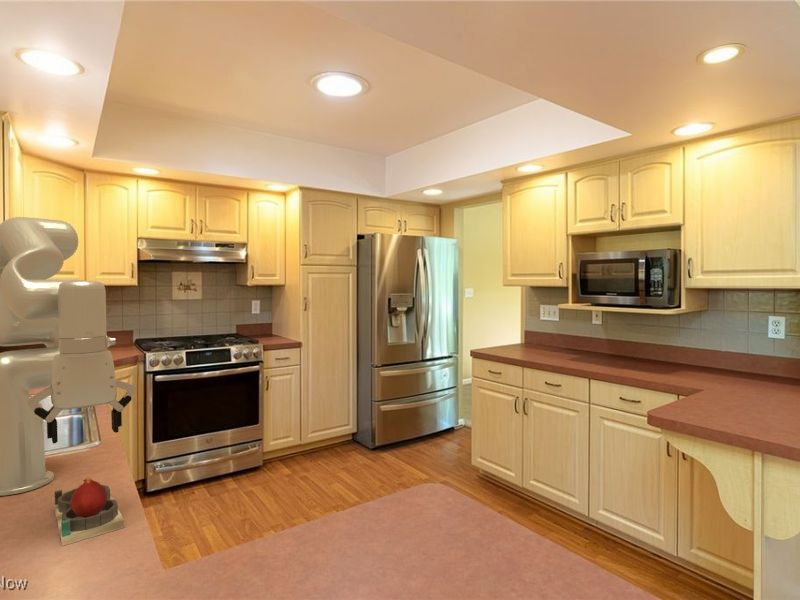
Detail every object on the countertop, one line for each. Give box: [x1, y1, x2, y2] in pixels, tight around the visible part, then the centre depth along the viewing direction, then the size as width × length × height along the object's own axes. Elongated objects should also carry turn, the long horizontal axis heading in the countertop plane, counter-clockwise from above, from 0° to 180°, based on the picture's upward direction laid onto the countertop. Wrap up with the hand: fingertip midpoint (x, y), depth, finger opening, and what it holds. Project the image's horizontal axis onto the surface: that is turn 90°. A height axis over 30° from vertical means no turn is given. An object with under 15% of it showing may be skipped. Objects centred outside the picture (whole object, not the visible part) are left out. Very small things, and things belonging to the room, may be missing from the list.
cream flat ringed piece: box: [53, 484, 125, 547], centre depth 94 cm, size 18×10×4 cm, turn 39°
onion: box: [71, 477, 107, 518], centre depth 90 cm, size 6×6×8 cm
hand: (85, 435), depth 90 cm, fingers open, 9 cm apart
